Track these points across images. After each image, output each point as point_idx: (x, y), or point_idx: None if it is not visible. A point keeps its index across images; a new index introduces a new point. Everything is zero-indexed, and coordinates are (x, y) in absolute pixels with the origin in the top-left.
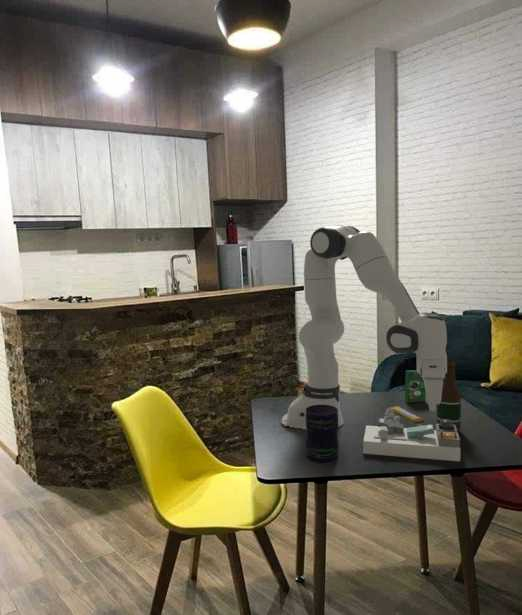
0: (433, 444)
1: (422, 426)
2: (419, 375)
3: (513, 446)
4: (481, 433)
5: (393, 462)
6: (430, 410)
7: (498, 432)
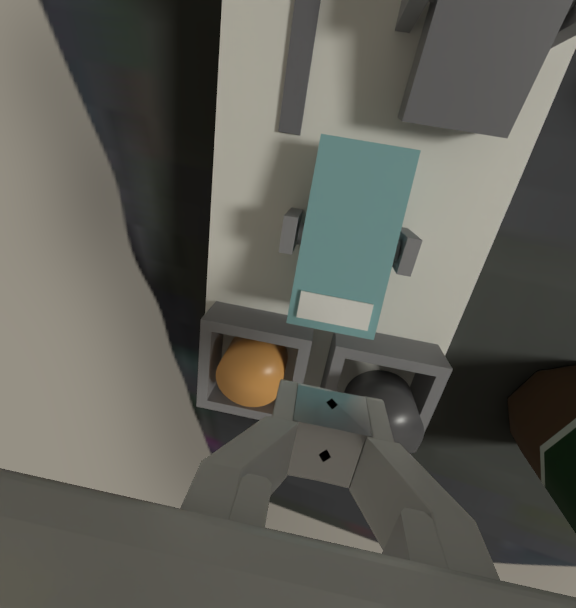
0: (232, 279)
1: (377, 269)
2: None
3: (360, 530)
4: (497, 499)
5: (160, 33)
6: (278, 387)
7: (494, 544)
